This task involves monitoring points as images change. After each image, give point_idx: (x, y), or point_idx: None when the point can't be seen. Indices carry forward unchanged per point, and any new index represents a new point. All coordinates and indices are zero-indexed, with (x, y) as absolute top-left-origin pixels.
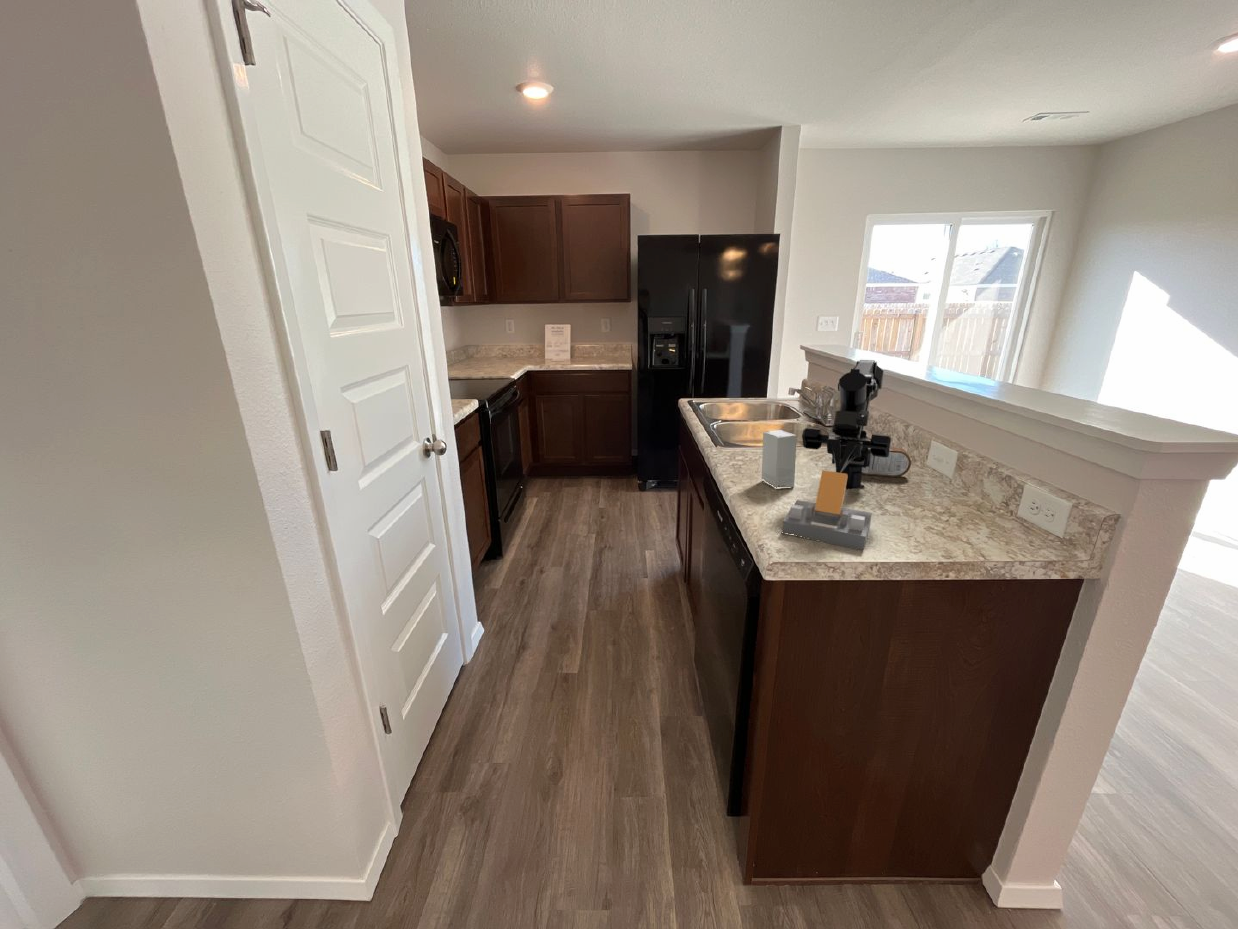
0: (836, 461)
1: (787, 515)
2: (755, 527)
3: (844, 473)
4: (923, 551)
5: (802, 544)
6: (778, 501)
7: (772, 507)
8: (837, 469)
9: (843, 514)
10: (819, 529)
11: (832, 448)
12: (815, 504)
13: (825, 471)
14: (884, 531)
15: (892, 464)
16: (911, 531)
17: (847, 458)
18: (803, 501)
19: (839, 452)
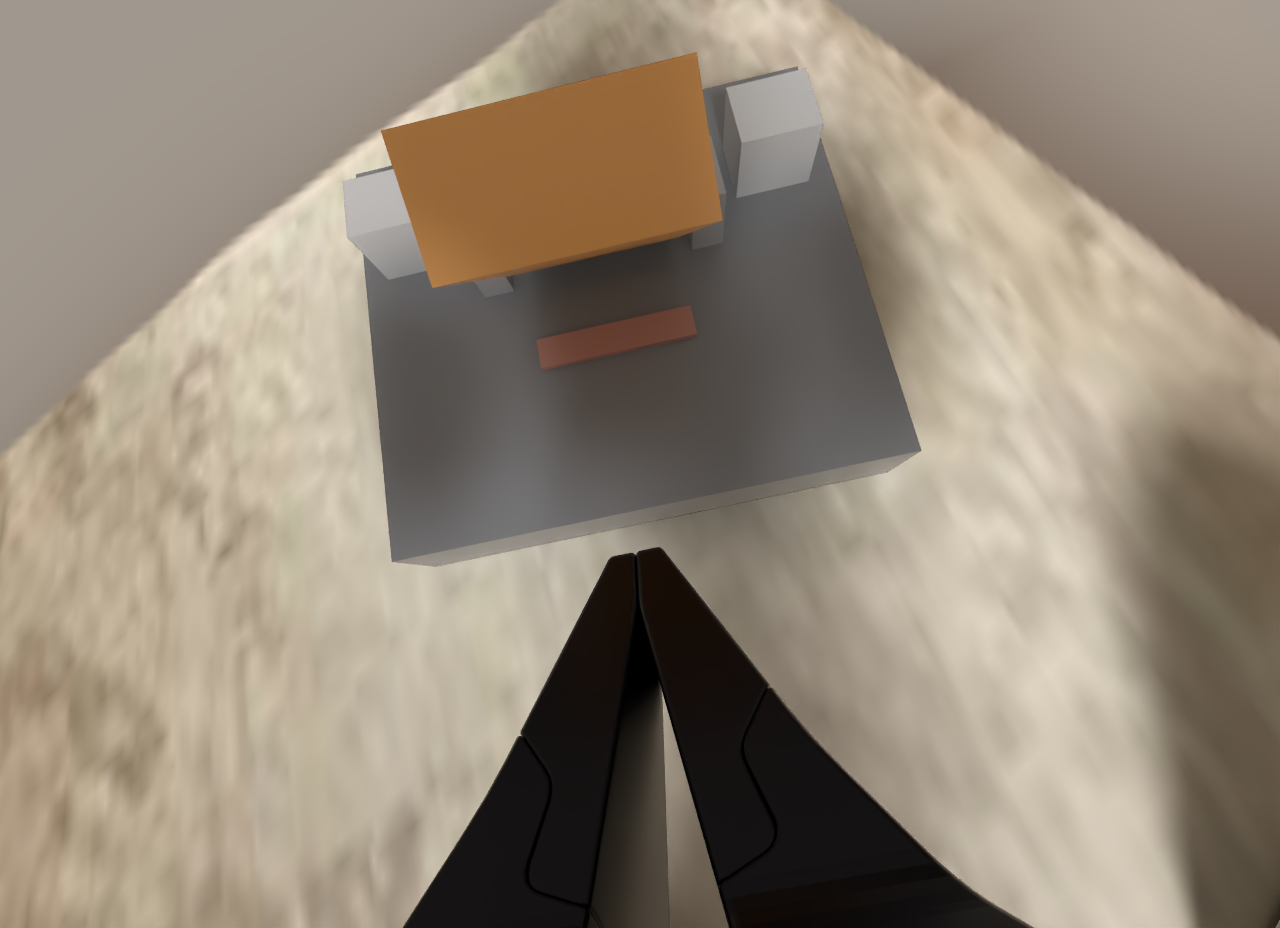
0: (705, 634)
1: (819, 150)
2: (936, 109)
3: (414, 122)
4: (164, 400)
5: None
6: (1101, 586)
7: (1056, 442)
8: (652, 559)
9: None
10: None
11: (968, 887)
12: (767, 452)
13: (652, 68)
14: (351, 527)
15: None
16: (223, 632)
17: (514, 744)
18: (868, 455)
19: (712, 820)
